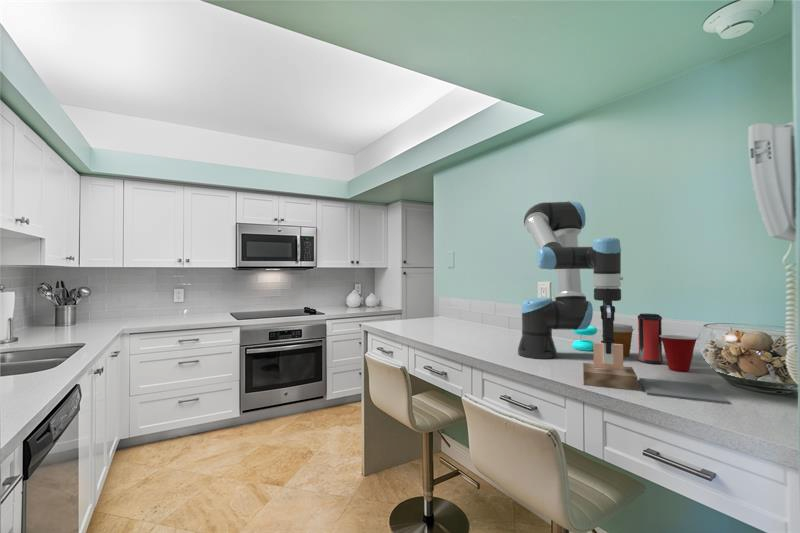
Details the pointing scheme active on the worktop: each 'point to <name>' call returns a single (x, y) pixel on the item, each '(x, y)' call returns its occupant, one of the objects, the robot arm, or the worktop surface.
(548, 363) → the worktop surface
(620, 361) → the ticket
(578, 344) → the turquoise double disc piece
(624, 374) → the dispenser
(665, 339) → the plastic cup
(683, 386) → the mat
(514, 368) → the worktop surface
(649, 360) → the speaker
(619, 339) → the disposable coffee cup
